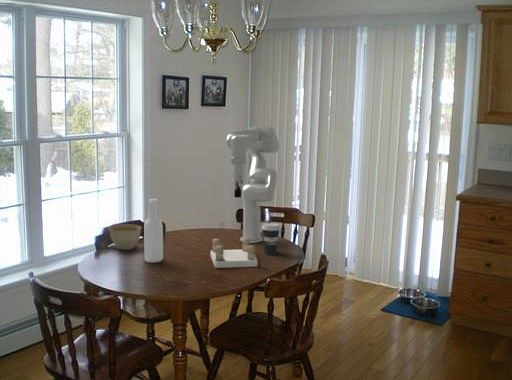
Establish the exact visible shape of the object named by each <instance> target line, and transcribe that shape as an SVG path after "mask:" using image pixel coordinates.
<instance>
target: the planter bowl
mask: <svg viewBox="0 0 512 380" xmlns="http://www.w3.org/2000/svg"><path fill="white" fill-rule="evenodd" d="M141 233H142V226H140V225H138V224H126V223H125V224H115V225H112V226H109V235H110V238H111V241H112V243H113V244H114V245H115V248H116V249H118V250H120V251H121V250H122V251H127V250H133V249H135V247H136V245H137V244H138V242H139V240H140V237H141Z"/></svg>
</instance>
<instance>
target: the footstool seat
mask: <svg viewBox="0 0 512 380" xmlns="http://www.w3.org/2000/svg"><path fill="white" fill-rule="evenodd" d="M210 258H211V261H212V263H213V266H214V268H215V269H218V268H219V269H220V268H223V269H224V268H225V269H227V268H249V267H250V268H251V267H258V259H257V258H256V256H255V260H248V259H247V258H248V252H245V251H242V248H241V249H223V260H216V253H215V252H213V249H211V250H210Z"/></svg>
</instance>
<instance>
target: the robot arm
mask: <svg viewBox="0 0 512 380" xmlns="http://www.w3.org/2000/svg"><path fill="white" fill-rule="evenodd" d="M225 144H226V147H227V148H228V149H230V164H231V179H230V180H231V183H233V184H234V198H242V203H243V204H242V205H243V206H242V209H243V213H242V214H243V217H242V218H243V219H242V222H243V225H242V236H241V237H240V239H239V240H240V242H242V243H243V238H249V239H250V244H256V243H261V242H263V236H261V218H262V217H261V215H262V213H261V212H262V211H261V210H262V209H261V207H260V205H259V204H258V203H271V202H272V201H273V200H274V195H275V192H276V186H277V181H278V173H277V170H275V168H269V167H267V160H266V159H265V157H264V155H262V154H265V153H266V154H276V153H277V152H278V150H279V148H280V143H279V139H278V135H277V133H276V131H275V129H274V128H273V127H272V126H265V125H264V126H263V125H255V126H252V127H250V128H248V129H244V130H239V131H234V132H230V133H229V134H228V135H227V137H226V139H225ZM247 150H248V151H249V154H250V159H251V163H250V167H249V171H248V176H247V178H248V182H249V183H247V184H244V181H245V179H244V178H245V177H244V173H245V167H244V166H245V165H246V164H247ZM261 153H262V154H261ZM243 184H244V186H242V185H243Z"/></svg>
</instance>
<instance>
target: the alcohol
mask: <svg viewBox="0 0 512 380" xmlns="http://www.w3.org/2000/svg"><path fill="white" fill-rule="evenodd" d="M143 226H144V227H143V232H144V233H143V235H144V237H143V241H144V243H143V245H144V246H143V247H144V250H143V251H144V260H145V262H147V263H153V264H154V263H160V262H162V260H163V259H164V234H163V233H164V230H163V229H164V225H163V221H162V219H160V217H159V208H158V199H156V198H149V199H148V215H147V219H146V220H145V221H144V225H143Z"/></svg>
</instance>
